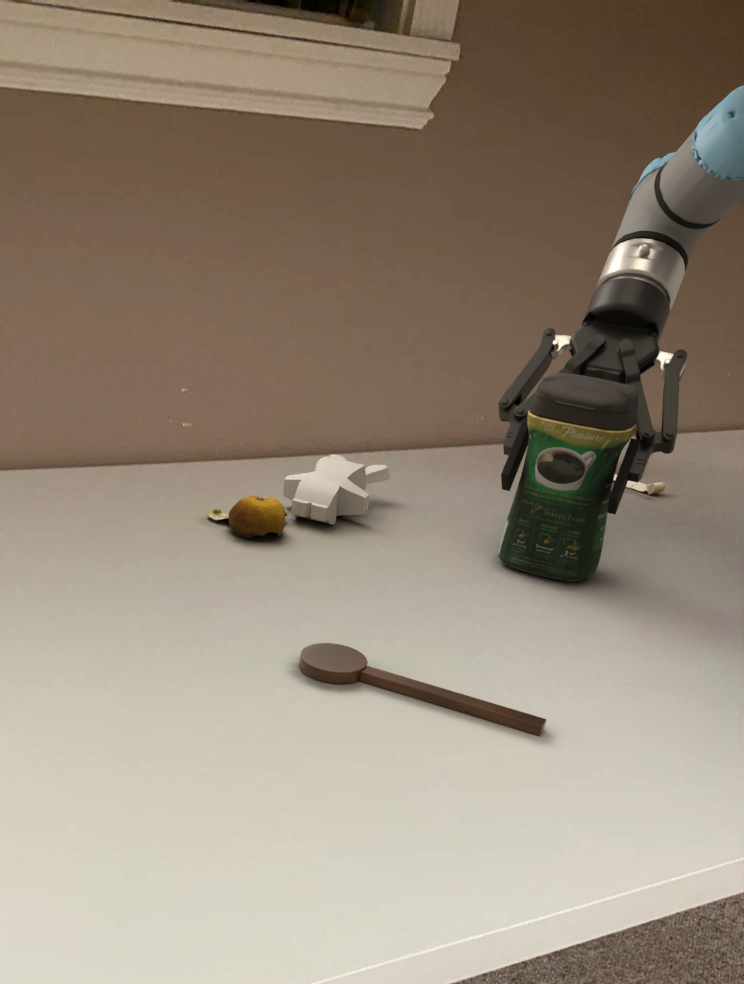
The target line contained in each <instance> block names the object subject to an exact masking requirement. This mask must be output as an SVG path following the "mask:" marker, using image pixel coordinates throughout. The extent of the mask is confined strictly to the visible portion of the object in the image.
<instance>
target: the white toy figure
mask: <svg viewBox="0 0 744 984" xmlns="http://www.w3.org/2000/svg"><path fill="white" fill-rule="evenodd" d="M390 479H391V475H390V472H389V468H388V465H386V464H373V465H369V466H367V467H366V465H365V464H362V463H358V462H353V461H348V460H347V458H345V457H344V456H342V455H339V454H335V453H334V454H333V453H332V454H329V455H328V456H323V457H321V458H320V459H319V460H317V462H316V464H315V470H314V471H309V472H304V473H296V474H290V475H286V477H285V478H284V481H283V495H282V496H283V497H284V498H286V499H288V500H289V501H291V509H290V514H291V515H294V517H299V518H303V519H307V520H311V521H315V522H320V523H323V524H328V525H332V526H334V525H335V524H336V523H337V516H364V515H367V514H368V510H369V509H368V507H369V500H370V494H369V492H367V491H366V489H367V488H366V487H367V486H368V485H367V484H373V483H378V482H385V481H388V480H390Z"/></svg>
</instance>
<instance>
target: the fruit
mask: <svg viewBox="0 0 744 984" xmlns="http://www.w3.org/2000/svg"><path fill="white" fill-rule="evenodd" d="M287 516H288V512H286V511H285V508H284V505H283V503H282V502H281V500H280V499H278V498H277V497H273V496H267V497H265V496H258V495H253V494H252V495H249V496H244V497H242V498H241V499H239V500H238V501H236V503H235V504H234V505H233V506H232V507H231V509H230V510H229V512H228V514H227V513H223V511H222V510H221V509H219V508H214V509H213V510H211V511H209V512H208V513H207V517H209V518H211V519H212V520H214V521H219V520H225V519H228V525H229V529H231V530H232V532H233V533H234V535H235V536H237V537H239V538H241V539H242V538H244V539H250V538H254V537H256V536H265V535H266V534H268V533H274V534H277V537H280V536H281V535H282V534H283V531H284V529H285V527H286V517H287Z"/></svg>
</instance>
